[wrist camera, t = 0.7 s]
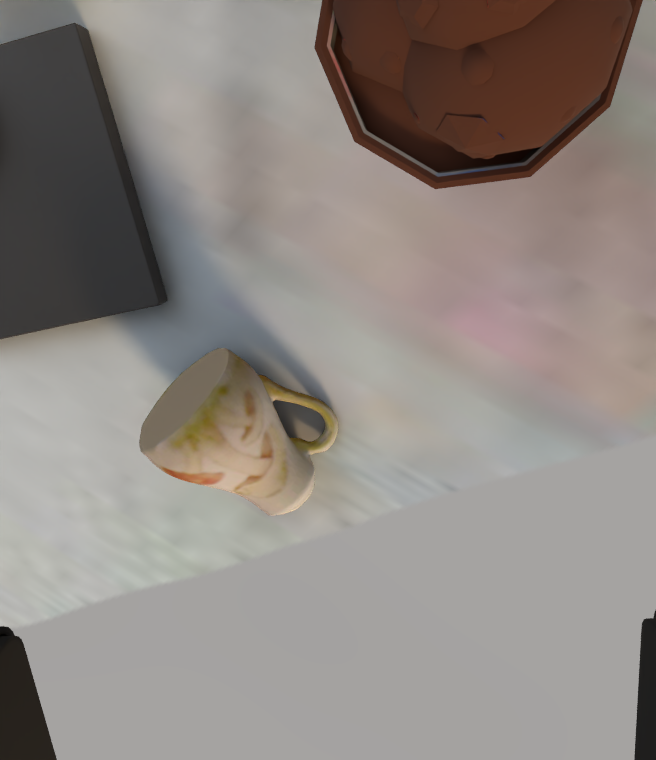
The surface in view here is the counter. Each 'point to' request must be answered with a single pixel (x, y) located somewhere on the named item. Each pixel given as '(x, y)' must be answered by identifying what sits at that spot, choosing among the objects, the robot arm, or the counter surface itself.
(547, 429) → the counter surface
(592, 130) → the counter surface
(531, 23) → the ice cream bowl
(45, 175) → the scale
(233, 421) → the mug
